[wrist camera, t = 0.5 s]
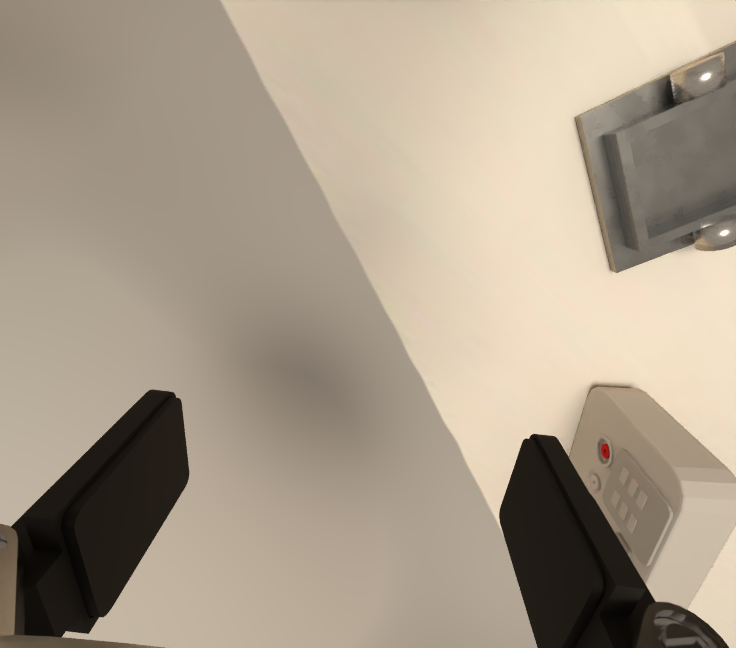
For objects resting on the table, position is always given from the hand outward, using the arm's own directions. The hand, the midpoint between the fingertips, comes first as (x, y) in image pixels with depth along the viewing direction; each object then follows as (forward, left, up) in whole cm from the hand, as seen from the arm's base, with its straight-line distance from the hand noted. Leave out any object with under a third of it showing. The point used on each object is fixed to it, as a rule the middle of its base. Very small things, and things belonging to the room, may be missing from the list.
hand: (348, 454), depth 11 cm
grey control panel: (+43, +13, -36) cm, 57 cm away
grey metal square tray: (+7, +31, -36) cm, 48 cm away
